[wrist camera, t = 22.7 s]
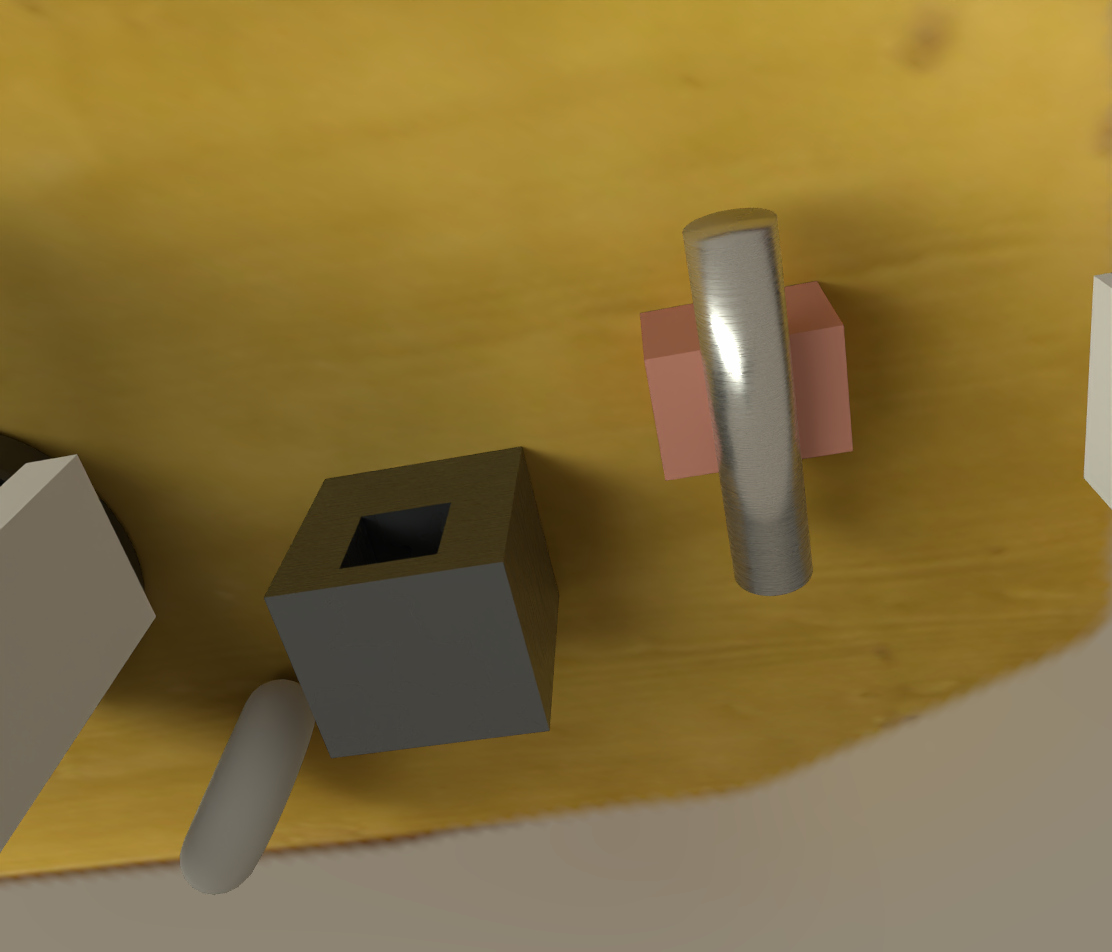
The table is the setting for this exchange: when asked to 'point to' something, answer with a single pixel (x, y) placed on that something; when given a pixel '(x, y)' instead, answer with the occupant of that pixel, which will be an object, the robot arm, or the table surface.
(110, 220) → the table surface
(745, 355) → the axle
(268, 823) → the donut
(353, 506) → the block with square hole
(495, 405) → the table surface
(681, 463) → the v block
